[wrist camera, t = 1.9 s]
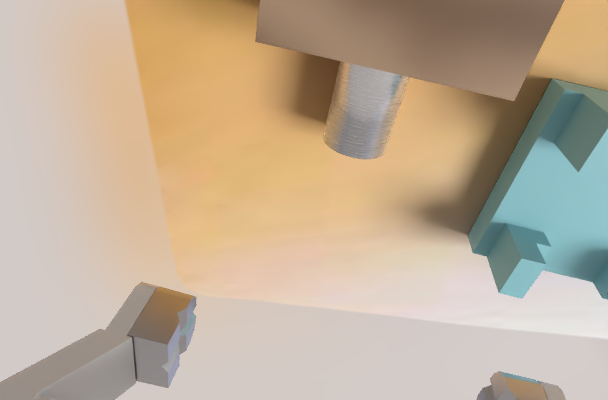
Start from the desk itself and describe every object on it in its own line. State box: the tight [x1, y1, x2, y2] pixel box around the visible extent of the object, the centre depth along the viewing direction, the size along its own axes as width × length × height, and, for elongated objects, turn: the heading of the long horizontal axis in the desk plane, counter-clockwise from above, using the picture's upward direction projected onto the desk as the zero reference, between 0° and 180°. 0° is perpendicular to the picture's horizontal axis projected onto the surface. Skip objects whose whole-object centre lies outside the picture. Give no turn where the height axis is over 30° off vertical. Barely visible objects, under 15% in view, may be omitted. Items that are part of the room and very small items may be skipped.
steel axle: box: [323, 61, 409, 159], centre depth 22 cm, size 14×4×4 cm, turn 170°
